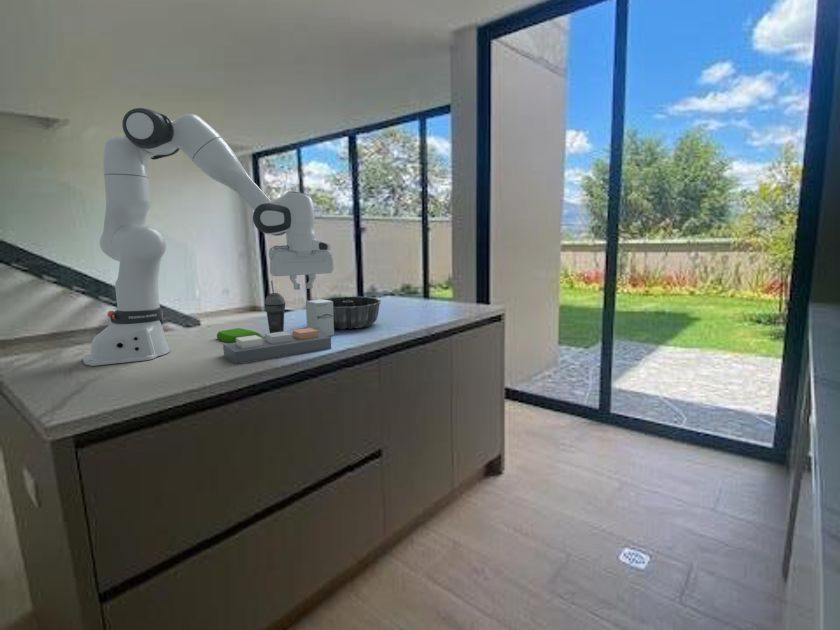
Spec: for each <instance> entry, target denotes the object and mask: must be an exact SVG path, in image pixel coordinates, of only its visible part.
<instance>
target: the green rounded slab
mask: <svg viewBox="0 0 840 630" xmlns="http://www.w3.org/2000/svg"><path fill="white" fill-rule="evenodd" d="M253 335H256V336H258V337H260V338H262V339H264V338H265V336H263V335H262V334H260V333H258V332H257V331H254V330H251V329H245V328H240V327H236V328H230V329H224V330H219V331H218V332H217V334H216V338H217V340H219V341H222V342H226V343H227V344H228V343H235V342H236V338H238V337H246V336H253Z"/></svg>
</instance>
